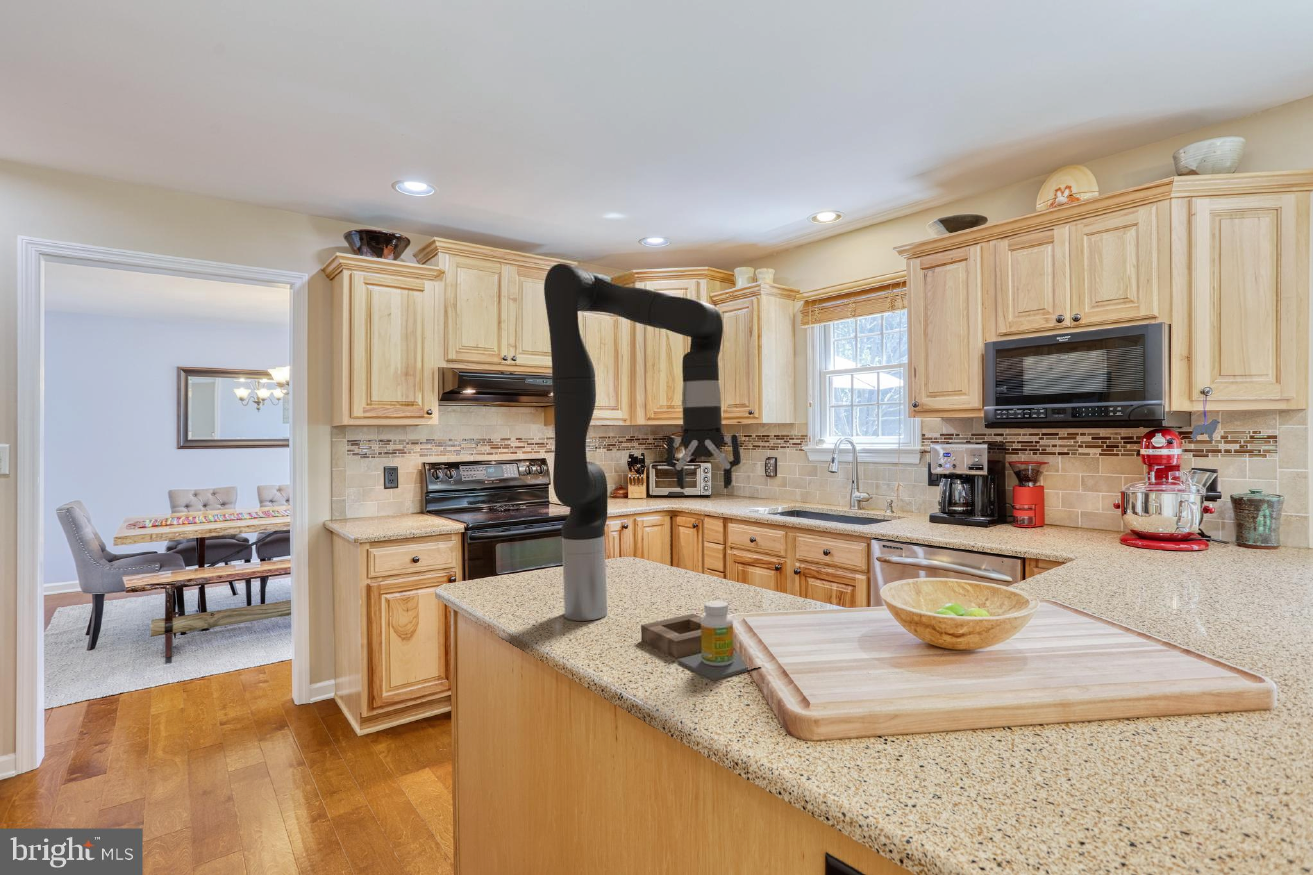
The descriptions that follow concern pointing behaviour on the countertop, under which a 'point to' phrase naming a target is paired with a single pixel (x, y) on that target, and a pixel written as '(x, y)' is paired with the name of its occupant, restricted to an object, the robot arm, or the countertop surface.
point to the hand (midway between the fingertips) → (704, 488)
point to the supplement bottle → (717, 634)
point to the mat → (714, 667)
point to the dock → (674, 635)
